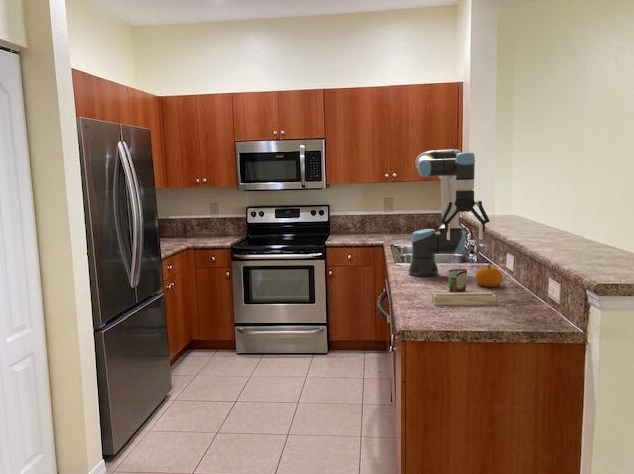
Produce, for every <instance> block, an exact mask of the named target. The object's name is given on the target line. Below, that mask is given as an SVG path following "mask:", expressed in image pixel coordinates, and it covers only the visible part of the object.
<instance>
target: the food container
mask: <svg viewBox="0 0 634 474" xmlns="http://www.w3.org/2000/svg"><path fill="white" fill-rule="evenodd" d="M446 274H447V275H446V277H448V287H449V293H466V292H467V291H466V290H467V274H468V269H467V268H451V269H449V270H448V271H447V273H446Z"/></svg>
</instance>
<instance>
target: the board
mask: <svg viewBox="0 0 634 474" xmlns="http://www.w3.org/2000/svg"><path fill="white" fill-rule="evenodd" d="M431 302H432V303H433V305H434V306H452V305H453V306H458V305H459V306H465V305H466V306H467V305H468V306H469V305H470V306H473V305H477V306H478V305H479V306H480V305H481V306H483V305H490V306H491V305H493V306H495V305H496V304H497V296H496V295H495V294H494V293H493V292H492V291H490V292H489V291H488V292H486V291H485V292H484V291H483V292H482V291H479V292H473V291H472V292H468V291H466V292H464V293H450V292H432V293H431Z"/></svg>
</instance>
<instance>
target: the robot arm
mask: <svg viewBox="0 0 634 474" xmlns="http://www.w3.org/2000/svg"><path fill="white" fill-rule="evenodd" d="M475 156H476V155H475V153H474V152H462V151H461V150H460V149H437V150H435V149H434V150H433V149H431V150H427V151H424V152H422V153H420V154H418V155H417V157H416V158H415V160H414V165H415V166H414V167H415V168H416V169H417V170H418V175H419V176H420V177H425V178H426V177H438V178H439V179H440V193H441V195H440V196H441V197H440V200H441V201H440V202H441V204H440V205H441V207H440V208H441V210H440V211H441V217H440V221H439V223H441V226H439V227H438V231H436V229H434V228H426V229H420V230H415V231H414V232H412V234H411V235H412V236H411V244H412V245H411V250H412V251H411V261H410V262H411V263H410V265H409V267H408V274H409V275H410V276H415V277H423V278H425V277H426V278H427V277H435V276H438V275H439V268H438V266H437V265H438V264H437V262H436V255H457V254H459V255H460V254H462V253H463V251H464V250H465V245H466V231H465V230H463V228H462V226H461V225H460V223H459V222H460V220H459V219H460V217H459V215H460V214H459V213H460V212H461V213H465V212H467V213H469V212H471V213H472V214H473V215H474V217H475V218H476V219H477V220H478V221H479V222H480V223H479V224H478V240H483V232H485V231H486V230H485V229H486V224H488V223H490V222H491V221H490V218H489V217H488V214H487V212H486V211H485V208H484V206H483V201H482V200H477V201H475V190H474V189H475V169H476V168H475V166H476V164H475V163H476V160H475ZM475 205H476V206H477V207H478V209H479V212H480V213H481V215H482V216H481V215H480V214H479V213H478V212H477V211H476V209H475V208H474V207H475ZM482 217H483V218H482Z"/></svg>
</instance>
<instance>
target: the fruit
mask: <svg viewBox="0 0 634 474" xmlns="http://www.w3.org/2000/svg"><path fill="white" fill-rule="evenodd" d="M475 282H476V283H477V284H478V285H479V286H480V287H481V286H482V287H485V288H495V287H499V285H501V284H502V282H503V273H502V272H501V270H499V269H498V268H497V267H493V266H491V264H488V266H484V267H481V268H479V269H478V270H477V272H476V274H475Z"/></svg>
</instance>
